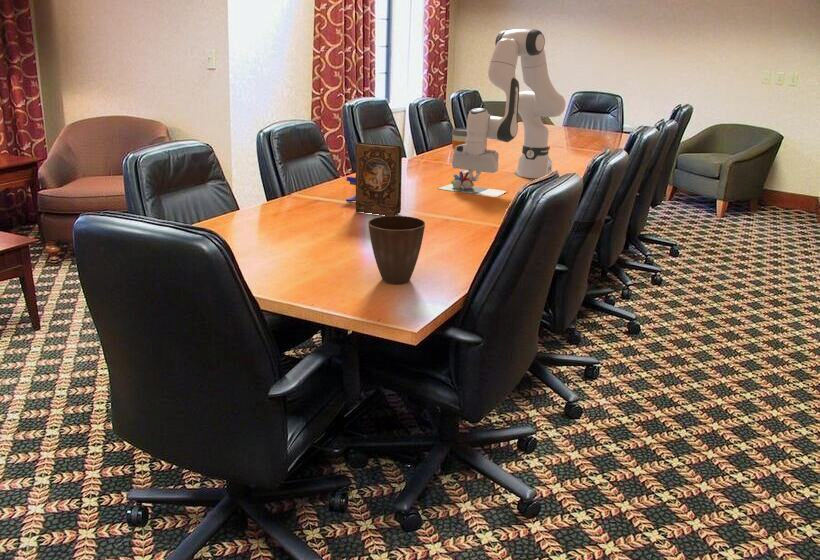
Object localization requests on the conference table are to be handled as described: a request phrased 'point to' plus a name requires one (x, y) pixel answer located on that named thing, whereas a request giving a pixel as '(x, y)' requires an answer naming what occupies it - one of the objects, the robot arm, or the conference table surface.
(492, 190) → the game mat
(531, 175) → the robot arm
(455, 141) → the reusable coffee cup
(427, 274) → the conference table surface
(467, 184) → the rainbow segmented toy
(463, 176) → the die
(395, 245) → the plant pot
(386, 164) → the book
